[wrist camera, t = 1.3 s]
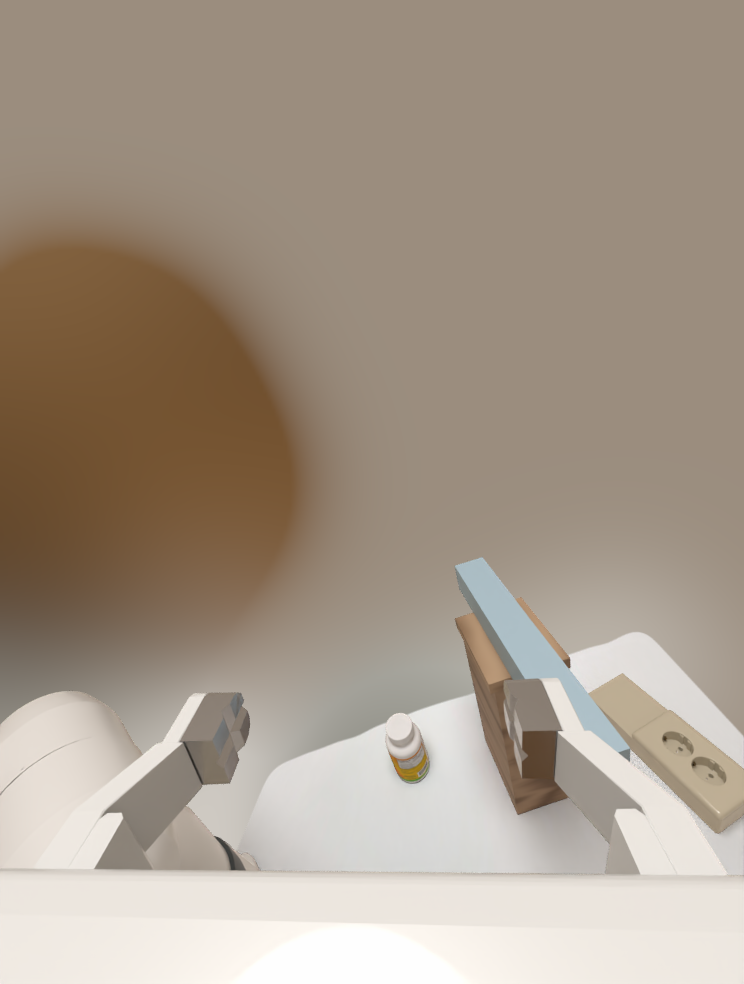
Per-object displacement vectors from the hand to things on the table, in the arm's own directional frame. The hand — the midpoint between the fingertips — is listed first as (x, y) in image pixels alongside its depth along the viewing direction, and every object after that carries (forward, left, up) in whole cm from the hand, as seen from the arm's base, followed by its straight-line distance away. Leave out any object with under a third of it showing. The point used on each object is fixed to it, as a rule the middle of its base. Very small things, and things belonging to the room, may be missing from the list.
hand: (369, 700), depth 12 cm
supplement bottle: (-3, +28, -52) cm, 60 cm away
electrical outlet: (+31, +20, -53) cm, 65 cm away
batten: (+13, +20, -26) cm, 36 cm away
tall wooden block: (+13, +23, -52) cm, 59 cm away
